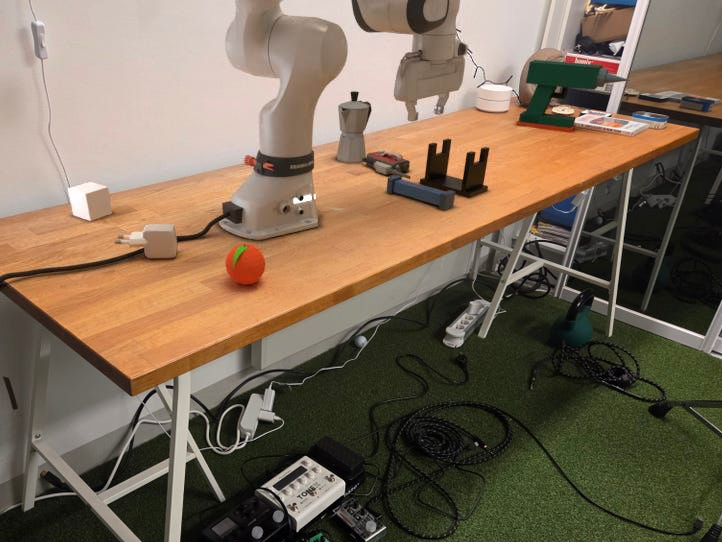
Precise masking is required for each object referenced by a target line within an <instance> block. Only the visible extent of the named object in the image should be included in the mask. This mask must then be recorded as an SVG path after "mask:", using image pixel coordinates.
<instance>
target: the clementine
mask: <svg viewBox="0 0 722 542" xmlns="http://www.w3.org/2000/svg"><path fill="white" fill-rule="evenodd" d="M265 270H266V260H265V256H264V254H263V253H262V251H261V250H260V249H259V248H258V247H256V246H255V245H252V244H249V243H241V244H237V245H236V246H234V247H233V248H232V249H231V250H230V251H229V252H228V254H227V256H226V258H225V271H226V272H227V274H228V276H229V277H230V279H232V280H233V281H234V282H236V283H238V284H241V285H251V284H254V283H256V282H257V281H259V280H260V279H261V278H262V277H263V275H264V273H265V272H266V271H265Z"/></svg>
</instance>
